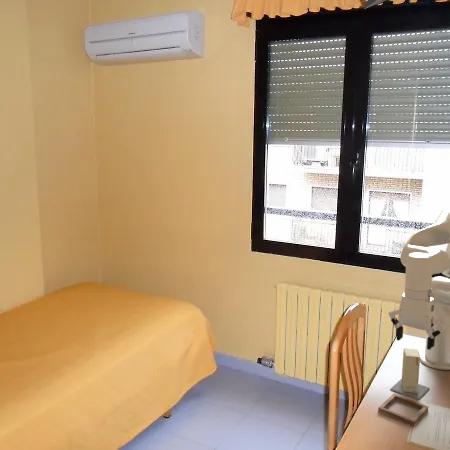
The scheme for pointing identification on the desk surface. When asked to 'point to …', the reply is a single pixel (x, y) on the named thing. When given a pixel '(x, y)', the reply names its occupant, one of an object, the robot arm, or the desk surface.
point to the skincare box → (410, 370)
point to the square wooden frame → (399, 417)
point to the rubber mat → (417, 396)
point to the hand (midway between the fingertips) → (414, 343)
